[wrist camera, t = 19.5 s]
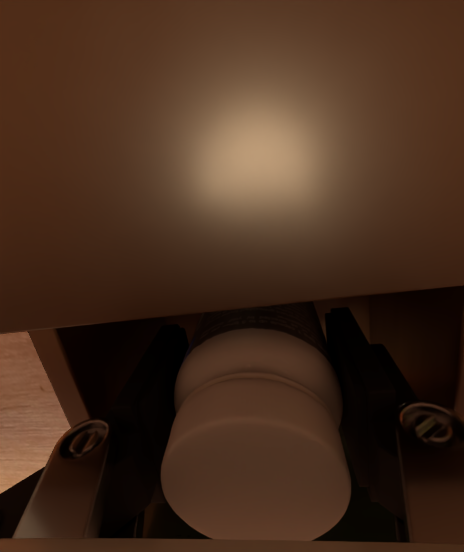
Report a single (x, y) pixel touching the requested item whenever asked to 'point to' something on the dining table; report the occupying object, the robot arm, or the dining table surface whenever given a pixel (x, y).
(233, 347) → the pill bottle
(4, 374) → the dining table surface
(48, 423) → the dining table surface
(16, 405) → the dining table surface
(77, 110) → the cabinet
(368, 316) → the drawer
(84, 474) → the robot arm
